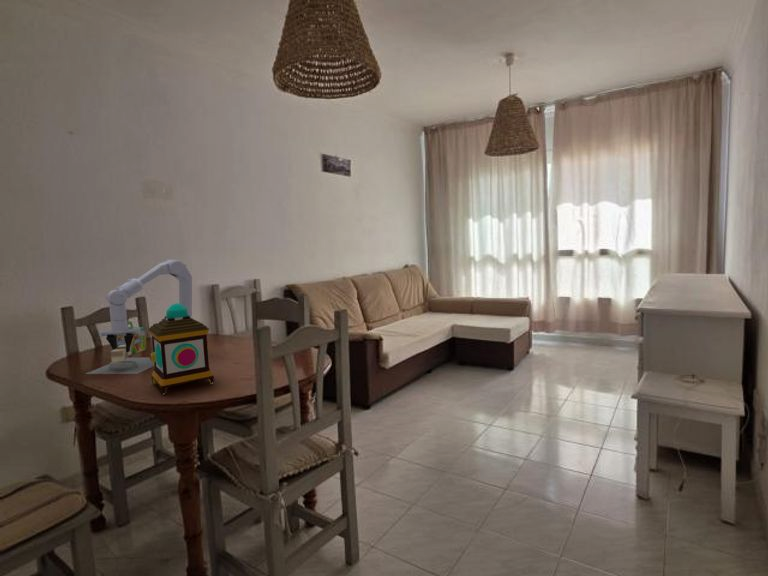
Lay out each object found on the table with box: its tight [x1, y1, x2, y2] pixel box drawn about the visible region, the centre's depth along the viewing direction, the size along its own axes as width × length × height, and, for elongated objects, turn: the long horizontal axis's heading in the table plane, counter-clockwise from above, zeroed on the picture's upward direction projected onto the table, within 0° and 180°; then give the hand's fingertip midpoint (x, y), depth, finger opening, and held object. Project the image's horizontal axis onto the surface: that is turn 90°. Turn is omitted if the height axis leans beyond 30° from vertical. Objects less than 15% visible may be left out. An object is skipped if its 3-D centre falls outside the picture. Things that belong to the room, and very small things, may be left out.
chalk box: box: [117, 320, 148, 355], centre depth 213 cm, size 9×9×15 cm
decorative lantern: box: [147, 302, 215, 395], centre depth 162 cm, size 20×20×30 cm
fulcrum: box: [109, 361, 138, 370], centre depth 185 cm, size 10×4×3 cm, turn 85°
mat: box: [85, 356, 155, 375], centre depth 190 cm, size 22×24×1 cm
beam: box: [110, 344, 133, 362], centre depth 184 cm, size 12×4×4 cm, turn 13°
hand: (122, 352), depth 184 cm, fingers closed on beam, 4 cm apart
